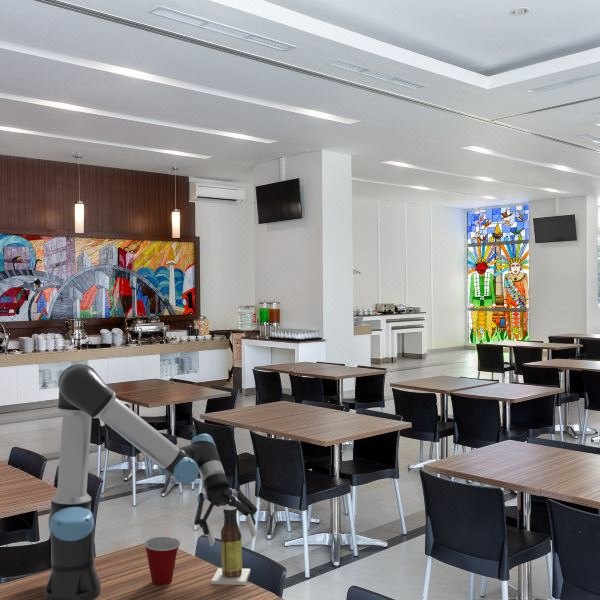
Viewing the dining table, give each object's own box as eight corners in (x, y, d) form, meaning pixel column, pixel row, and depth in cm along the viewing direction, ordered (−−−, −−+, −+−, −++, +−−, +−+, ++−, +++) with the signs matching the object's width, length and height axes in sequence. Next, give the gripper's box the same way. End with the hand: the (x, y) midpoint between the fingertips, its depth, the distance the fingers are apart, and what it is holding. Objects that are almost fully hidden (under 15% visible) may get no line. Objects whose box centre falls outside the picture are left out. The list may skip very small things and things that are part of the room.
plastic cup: (172, 590, 201) (172, 548, 201) (138, 587, 203) (137, 546, 203) (186, 575, 211) (186, 536, 212) (153, 573, 214) (152, 534, 214)
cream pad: (211, 584, 205) (211, 580, 205) (218, 571, 215) (218, 567, 215) (244, 584, 204) (244, 581, 204) (250, 571, 214) (250, 568, 214)
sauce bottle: (246, 573, 210) (246, 507, 211) (233, 579, 205) (233, 512, 205) (229, 568, 214) (229, 504, 214) (216, 575, 209) (216, 508, 209)
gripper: (246, 479, 229) (267, 538, 216) (173, 490, 217) (191, 553, 204) (252, 467, 224) (275, 525, 211) (179, 477, 212) (197, 540, 199)
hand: (234, 539), depth 207 cm, fingers open, 13 cm apart
